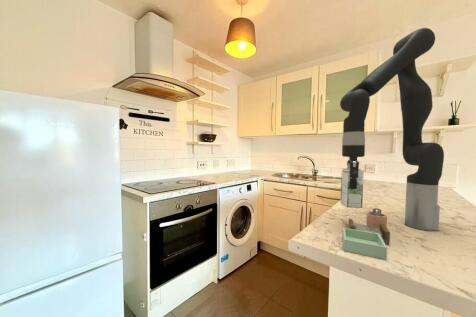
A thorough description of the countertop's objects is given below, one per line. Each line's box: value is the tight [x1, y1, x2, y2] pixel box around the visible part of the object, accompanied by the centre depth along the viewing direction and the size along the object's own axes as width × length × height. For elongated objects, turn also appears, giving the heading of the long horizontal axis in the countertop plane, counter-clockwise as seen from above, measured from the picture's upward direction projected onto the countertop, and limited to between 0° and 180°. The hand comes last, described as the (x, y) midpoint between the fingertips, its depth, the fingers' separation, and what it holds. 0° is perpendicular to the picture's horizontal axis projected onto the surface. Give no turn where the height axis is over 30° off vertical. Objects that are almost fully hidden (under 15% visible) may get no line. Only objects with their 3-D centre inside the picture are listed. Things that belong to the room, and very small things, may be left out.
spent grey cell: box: [371, 207, 382, 216], centre depth 74 cm, size 3×3×8 cm
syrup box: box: [340, 168, 365, 209], centre depth 77 cm, size 6×6×14 cm
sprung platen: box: [354, 222, 382, 237], centre depth 68 cm, size 7×7×1 cm
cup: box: [365, 211, 388, 230], centre depth 74 cm, size 6×6×6 cm
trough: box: [342, 227, 388, 260], centre depth 61 cm, size 10×10×3 cm
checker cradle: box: [347, 218, 391, 246], centre depth 68 cm, size 11×8×4 cm
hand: (352, 187), depth 77 cm, fingers closed on syrup box, 7 cm apart
